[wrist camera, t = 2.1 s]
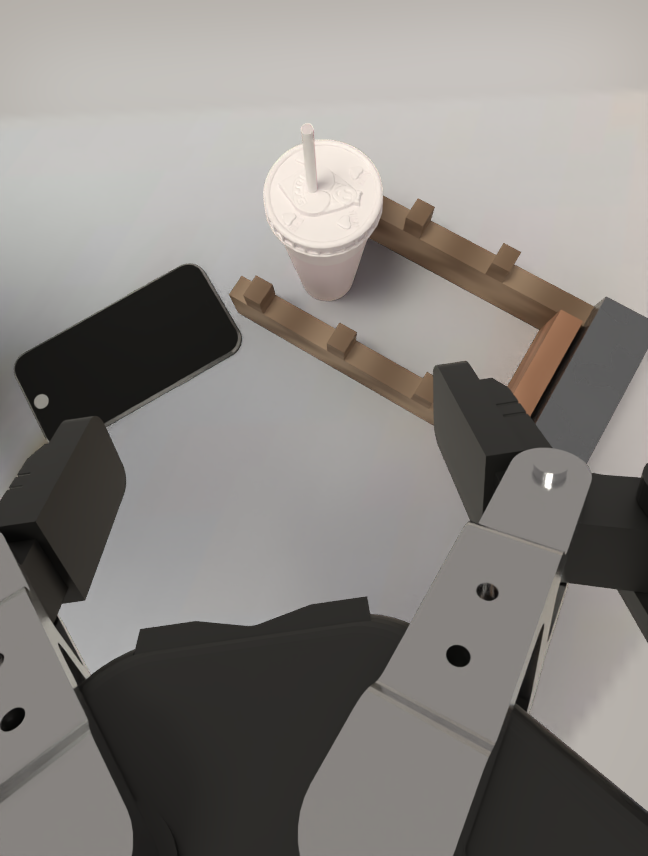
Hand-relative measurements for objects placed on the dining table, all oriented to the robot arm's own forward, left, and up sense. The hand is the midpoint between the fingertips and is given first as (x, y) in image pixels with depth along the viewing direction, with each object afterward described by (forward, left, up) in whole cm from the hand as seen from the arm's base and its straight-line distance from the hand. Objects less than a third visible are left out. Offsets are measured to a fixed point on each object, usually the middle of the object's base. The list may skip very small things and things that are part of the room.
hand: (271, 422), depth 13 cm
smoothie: (-7, +13, -22) cm, 26 cm away
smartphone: (-16, +1, -23) cm, 28 cm away
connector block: (+11, +13, -22) cm, 28 cm away
